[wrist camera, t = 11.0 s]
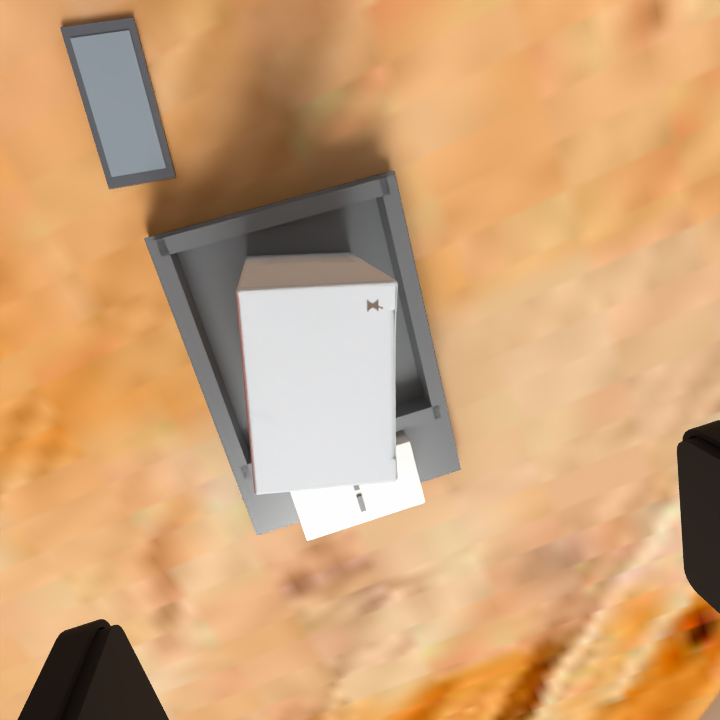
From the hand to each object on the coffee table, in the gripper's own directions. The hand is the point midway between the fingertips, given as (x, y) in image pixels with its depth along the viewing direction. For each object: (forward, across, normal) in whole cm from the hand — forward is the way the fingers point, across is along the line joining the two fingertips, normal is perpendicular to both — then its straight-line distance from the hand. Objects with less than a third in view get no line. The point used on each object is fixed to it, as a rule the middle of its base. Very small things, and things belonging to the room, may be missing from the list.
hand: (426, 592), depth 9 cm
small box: (+22, +1, 0) cm, 22 cm away
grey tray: (+22, 0, +3) cm, 22 cm away
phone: (+23, +6, -12) cm, 27 cm away
